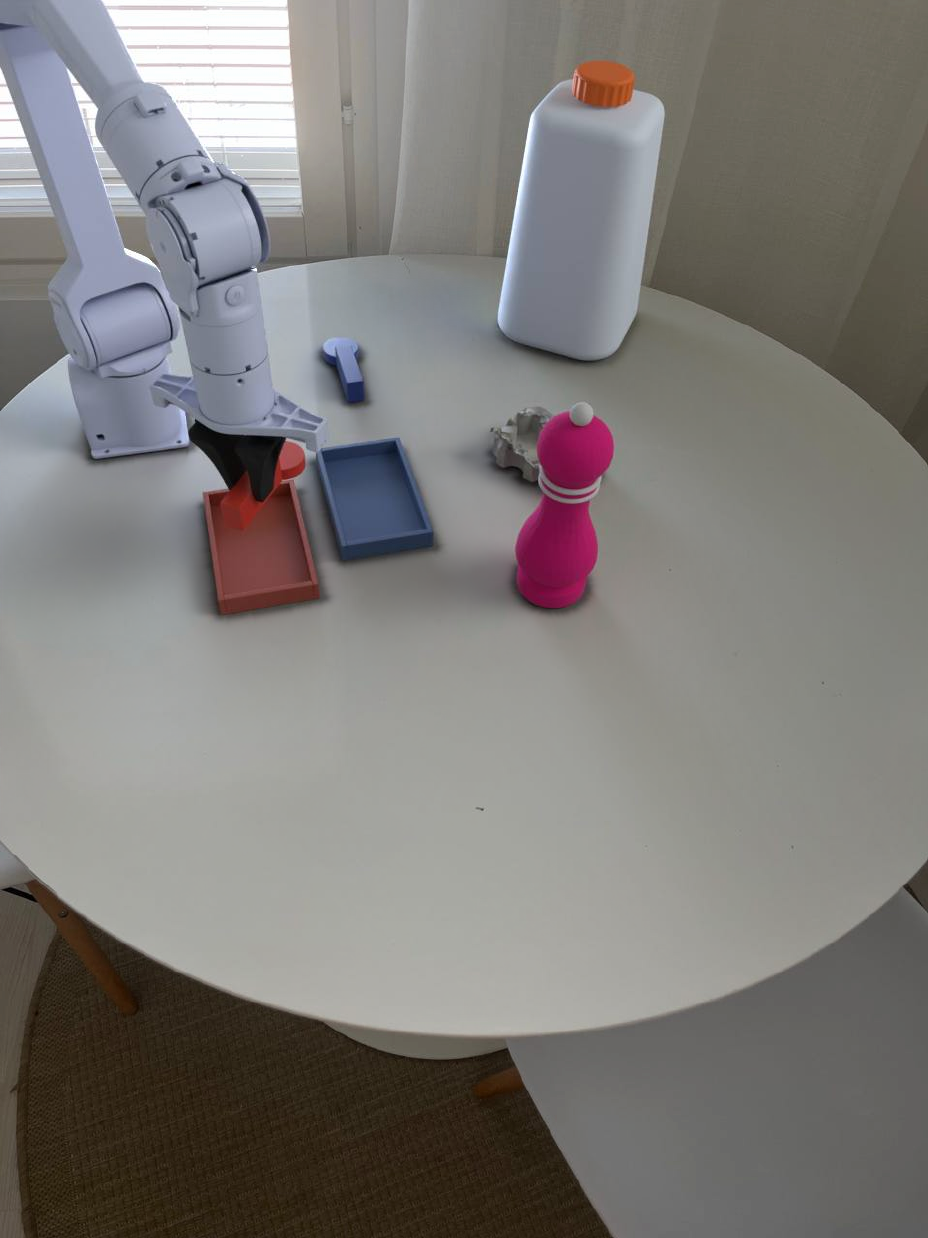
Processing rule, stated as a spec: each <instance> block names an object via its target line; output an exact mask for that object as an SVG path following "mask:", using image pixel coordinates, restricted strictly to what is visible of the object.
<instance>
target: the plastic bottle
mask: <svg viewBox="0 0 928 1238" xmlns="http://www.w3.org/2000/svg"><path fill="white" fill-rule="evenodd" d="M635 82H636V76H635V74H634V72H633V71H632V69H630V68H629V67H628V66H626V65H623V64H621V63H618V62H614V61H607V60H591V61H585V62H583V63H581V64H580V65H578V66H577V67H576V68H575V70H574V72H573V77H572V78H570V79H566V80H563V81H561V82H559V83H558V84H557V85H555V87H554V88H553V89H551V90H550V92H549V93H548V94H546V96H544V98H543V99H542V100H541V101H540V103H539V104H538V105H537V106H536V107H535V109H534V110H533V111H532V113H531V115H530V118H529V124H528V129H527V136H526V141H525V147H524V154H523V160H522V166H521V172H520V177H519V184H518V190H517V191H518V192H517V197H516V202H515V208H514V214H513V220H512V227H511V233H510V239H509V245H508V249H507V250H508V251H507V256H506V264H505V269H504V274H503V275H504V276H503V280H502V281H503V282H502V286H501V294H500V300H499V304H498V305H499V306H498V310H497V311H498V312H497V325H498V326H499V328H500V331H501V332H502V334H504V335H505V337H507V338H508V339H510V340H512V341H513V342H515V343H518V344H521V345H524V346H529V347H532V348H535V349H539V350H541V351H542V350H543V351H546V352H549V353H552V354H557V355H561V356H564V357H567V358H572V359H574V360H575V359H576V360H579V361H587V362H588V361H598V360H602V359H606V358H608V357H610V356H612V355H613V354H614V353H615V352H616V351H617V350H618V349H619V348H620V346H621V344H622V342H623V341H624V338H625V336H626V334H627V333H628V331H629V329H630V327H631V325H632V323H633V322H634V320H635V318H636V316H637V312H638V305H639V299H640V293H641V285H642V278H643V272H644V265H645V259H646V258H645V257H646V249H647V245H648V244H647V242H648V237H649V236H648V235H649V229H650V222H651V215H652V208H653V201H654V193H655V186H656V180H657V172H658V167H659V166H658V165H659V159H660V151H661V143H662V137H663V130H664V124H665V123H664V122H665V117H666V116H665V115H666V111H665V107H664V104H663V102H662V101H661V99H660V98H658V97H656V96H655V95H653V94H652V93H648V92H645V91H642V90H641V91H640V90H636V89H634V87H635Z"/></svg>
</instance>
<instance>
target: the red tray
mask: <svg viewBox="0 0 928 1238" xmlns="http://www.w3.org/2000/svg"><path fill="white" fill-rule="evenodd" d="M229 491H230V490H229V489H228V488H221V489H215V490H207V491H202V497H203V504H204V511H205V519H206V526H207V531H208V533H207V534H208V539H209V546H210V554H211V560H212V567H213V573H214V574H213V575H214V582H215V589H216V594H217V602H218V606H219V611H220V615H221V616H224V615H229V614H235V613H242V612H248V611H253V610H258V609H264V608H271V607H276V606H283V605H287V604H292V603H298V602H304V601H311V600H317V599H320V598H321V596H320V586H319V580H318V577H317V572H316V567H315V564H314V560H313V556H312V551H311V547H310V542H309V538H308V534H307V530H306V526H305V522H304V517H303V514H302V509H301V504H300V500H299V495H298V492H297V488H296V484H295V480H294V478H292V479H288V480H282V482H281V483H280V484H279V485H278V487H277V488H276V489H275V491H274V492H273V493H272V495H271V496H270V497H269V499H268V500H267V501H266V502H265V504H264V505H263V506H262V508H261V509H260V510H259V512H258V513H257V514H256V515H255V517H254V518H253V519H252V521H251V522H250V523H249V525H248V526H247V527H246V529H245V530H244V531H241V530H238V529H234V528H231V527H228V526H225V524H224V520H223V515H222V510H221V506H220V502H221V501H222V500H223V499H224V497H225V496H226V495H227V494H228V493H229Z"/></svg>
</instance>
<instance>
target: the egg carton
mask: <svg viewBox="0 0 928 1238" xmlns="http://www.w3.org/2000/svg"><path fill="white" fill-rule="evenodd" d="M554 416H555V415H554V414H553V413H551V412H550V411H549V410H547V409H546V408H544V407H541V406H532V407H526V408H523V409H522V410H521V411H518V412H517V413H516V415H515V416H514V417H510V418H509V419H508V421H507V422H506V424H505V426H504V427H502V428H501V425H500V424H499V425H497V426H496V427H491V428H490V430H489V433H493V434H494V440H493V448H492V454H493V455H494V457H496V461H495V462H496V464H497V466H499V467H500V468H507V467H512V466H513V467H516V468H519V469H520V470H521V472H522V479H524V480H527V481H529V482H532V483H534V482H536V481H538V477H539V474H540V466H541V464H540V462H539V459H538V457H537V442H538V438H539V435H540V432H541V430H542V429H543V427H544V426H545V424H546V423H547V422H548V421H549V420H550V419H551V418H553V417H554Z"/></svg>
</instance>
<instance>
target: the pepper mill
mask: <svg viewBox="0 0 928 1238" xmlns="http://www.w3.org/2000/svg"><path fill="white" fill-rule="evenodd" d="M614 451H615V443H614V437H613V434H612V432H611V430H610V428H609V427H608V425H607V424H606V422H605V421H603V420H602V419H601V418H599V417H598V416H596V415H595V414H594V410H593V408H592V406H591V405H590V404H589V403H587V402H584V401H580V402H577V403H575V404H573V405H572V407H571V408H570V410H568V411H564V412H561V413H558V414H555V415H554V417H553V418H551V419H550V420H549V421H548V422H547V423H546V424H545V426H544V427H543V429H542V430H541V432H540V435H539V438H538V442H537V457H538V459H539V462H540V464H541V466H540V474H539V477H538V480H537V481H538V486H539V488H540V490H541V491H542V495H541V501H540V502H539V504H538V506H537V507H536V508H535V510H533V512H532V513H531V514H530V515H529V517H527V519H526V520H525V522H524V523H523V524H522V527H521V528H520V529H519V531H518V534H517V539H516V542H515V547H514V549H515V550H514V552H515V558H516V561H517V564H518V565H517V566H518V567H517V572H516V585H517V588H518V590H519V592H520V594H521V595H522V596H523V598H525V599H526V600H528V602H530V603H532V604H534V605H536V606H538V607H543V608H545V609H560V608H566V607H569V606H571V605H573V604H575V603H576V602H577V601H578V600H579V599H580V598H581V597H582V596H583V594H584V592H585V588H586V583H587V580H588V579H587V578H588V576H589V575H590V574H591V573H592V572H593V570H594V568H595V566H596V564H597V561H598V553H599V552H598V551H599V544H598V543H599V542H598V538H597V537H598V536H597V531H596V530H595V527H594V523H593V521H592V519H591V515H590V501H591V500H592V499H593V498H594V497H596V496H597V494H598V493H599V491H600V487H601V482H602V478H603V477H602V476H603V475H604V473H606V471H607V470H608V469H609V468H610V466H611V464H612V460H613V458H614Z"/></svg>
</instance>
